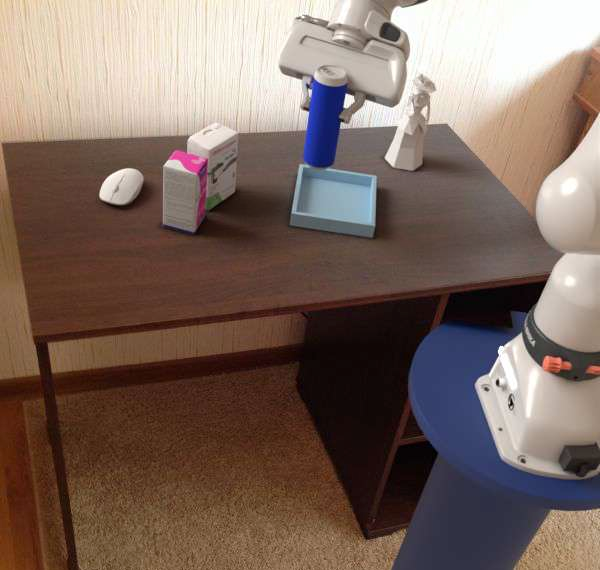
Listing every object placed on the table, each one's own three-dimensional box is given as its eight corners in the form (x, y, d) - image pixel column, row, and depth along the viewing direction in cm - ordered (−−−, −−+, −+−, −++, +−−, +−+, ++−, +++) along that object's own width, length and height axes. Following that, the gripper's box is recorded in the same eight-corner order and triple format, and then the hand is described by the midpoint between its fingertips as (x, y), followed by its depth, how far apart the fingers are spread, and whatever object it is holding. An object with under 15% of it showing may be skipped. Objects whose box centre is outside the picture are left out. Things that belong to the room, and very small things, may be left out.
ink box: (208, 212, 131) (210, 149, 122) (185, 201, 132) (185, 138, 123) (236, 191, 136) (240, 130, 127) (214, 181, 137) (216, 120, 129)
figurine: (399, 173, 147) (421, 83, 134) (378, 152, 152) (397, 63, 138) (429, 168, 150) (453, 79, 137) (407, 148, 154) (428, 60, 141)
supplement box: (195, 235, 126) (196, 174, 117) (161, 227, 126) (160, 165, 118) (206, 217, 130) (208, 156, 121) (174, 209, 130) (173, 148, 122)
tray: (372, 238, 131) (375, 226, 129) (289, 225, 131) (291, 213, 129) (374, 187, 142) (376, 175, 141) (298, 175, 142) (299, 163, 140)
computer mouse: (94, 202, 129) (92, 187, 126) (119, 174, 135) (118, 159, 133) (126, 211, 128) (125, 196, 126) (150, 183, 135) (150, 167, 132)
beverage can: (340, 165, 123) (356, 74, 112) (318, 174, 120) (332, 82, 109) (318, 151, 125) (331, 61, 114) (296, 160, 122) (307, 68, 111)
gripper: (290, 0, 114) (258, 87, 115) (417, 37, 110) (383, 127, 111) (298, 22, 120) (268, 104, 121) (419, 57, 117) (386, 142, 117)
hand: (324, 115), depth 116 cm, fingers closed on beverage can, 5 cm apart
